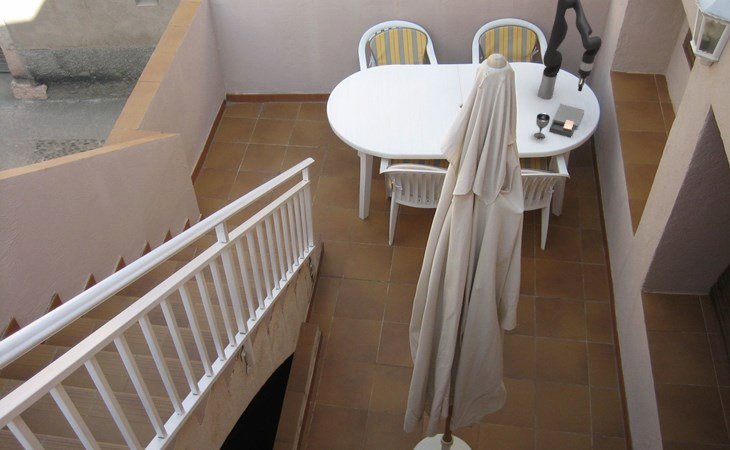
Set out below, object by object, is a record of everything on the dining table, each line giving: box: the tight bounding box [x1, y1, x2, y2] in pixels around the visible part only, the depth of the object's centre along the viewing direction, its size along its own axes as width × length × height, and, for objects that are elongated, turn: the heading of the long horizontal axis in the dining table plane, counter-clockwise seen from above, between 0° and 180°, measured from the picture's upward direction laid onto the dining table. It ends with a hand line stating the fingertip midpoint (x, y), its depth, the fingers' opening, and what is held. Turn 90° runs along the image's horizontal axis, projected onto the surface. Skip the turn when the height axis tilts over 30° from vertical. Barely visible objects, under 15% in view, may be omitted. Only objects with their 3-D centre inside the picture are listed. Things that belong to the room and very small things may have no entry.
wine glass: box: [533, 112, 551, 141], centre depth 432 cm, size 8×8×15 cm
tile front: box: [563, 125, 572, 132], centre depth 437 cm, size 5×5×2 cm
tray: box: [548, 119, 575, 138], centre depth 440 cm, size 14×9×4 cm, turn 65°
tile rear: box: [565, 120, 574, 127], centre depth 440 cm, size 5×5×2 cm
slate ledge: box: [552, 103, 585, 130], centre depth 449 cm, size 16×19×3 cm
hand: (579, 90), depth 432 cm, fingers closed
